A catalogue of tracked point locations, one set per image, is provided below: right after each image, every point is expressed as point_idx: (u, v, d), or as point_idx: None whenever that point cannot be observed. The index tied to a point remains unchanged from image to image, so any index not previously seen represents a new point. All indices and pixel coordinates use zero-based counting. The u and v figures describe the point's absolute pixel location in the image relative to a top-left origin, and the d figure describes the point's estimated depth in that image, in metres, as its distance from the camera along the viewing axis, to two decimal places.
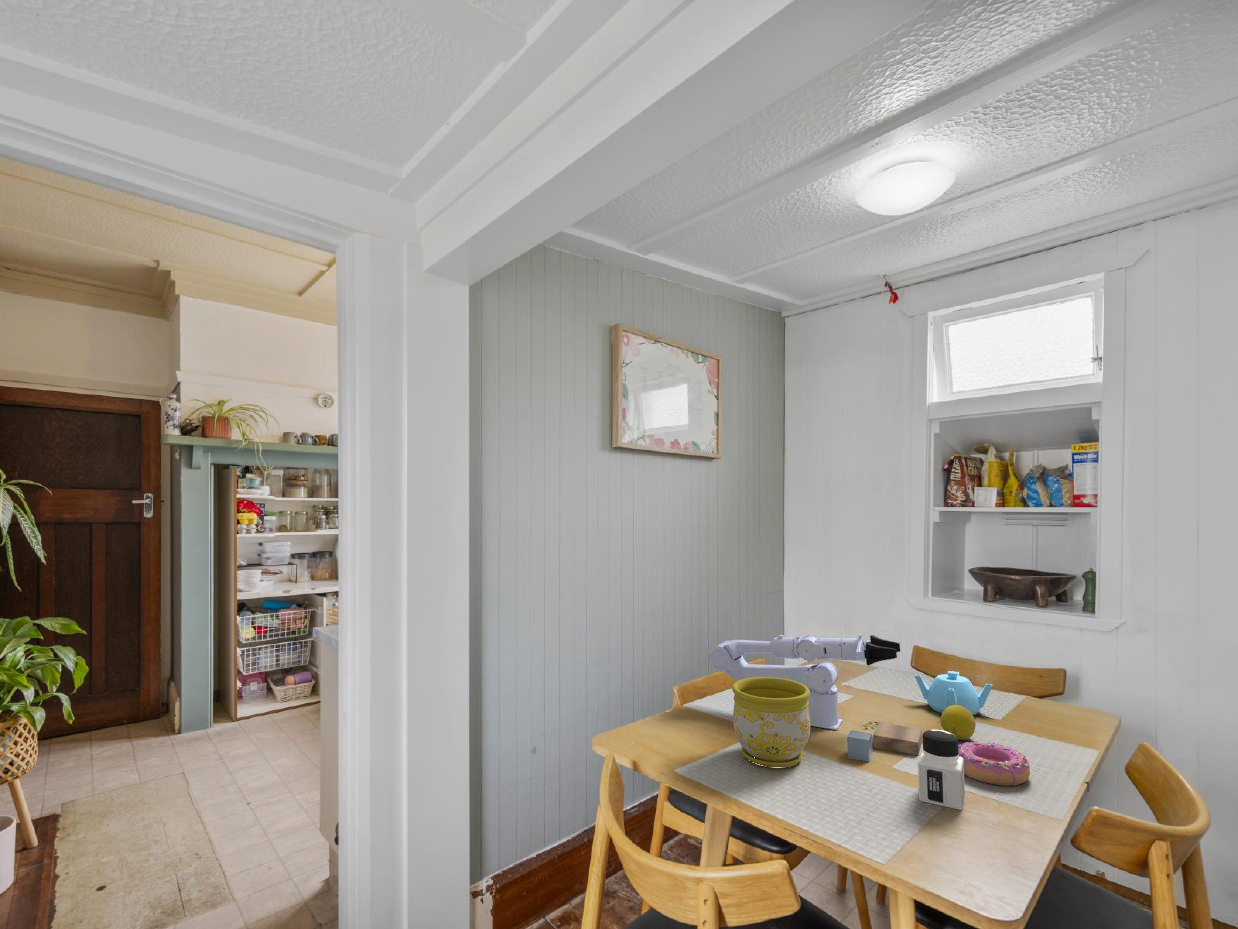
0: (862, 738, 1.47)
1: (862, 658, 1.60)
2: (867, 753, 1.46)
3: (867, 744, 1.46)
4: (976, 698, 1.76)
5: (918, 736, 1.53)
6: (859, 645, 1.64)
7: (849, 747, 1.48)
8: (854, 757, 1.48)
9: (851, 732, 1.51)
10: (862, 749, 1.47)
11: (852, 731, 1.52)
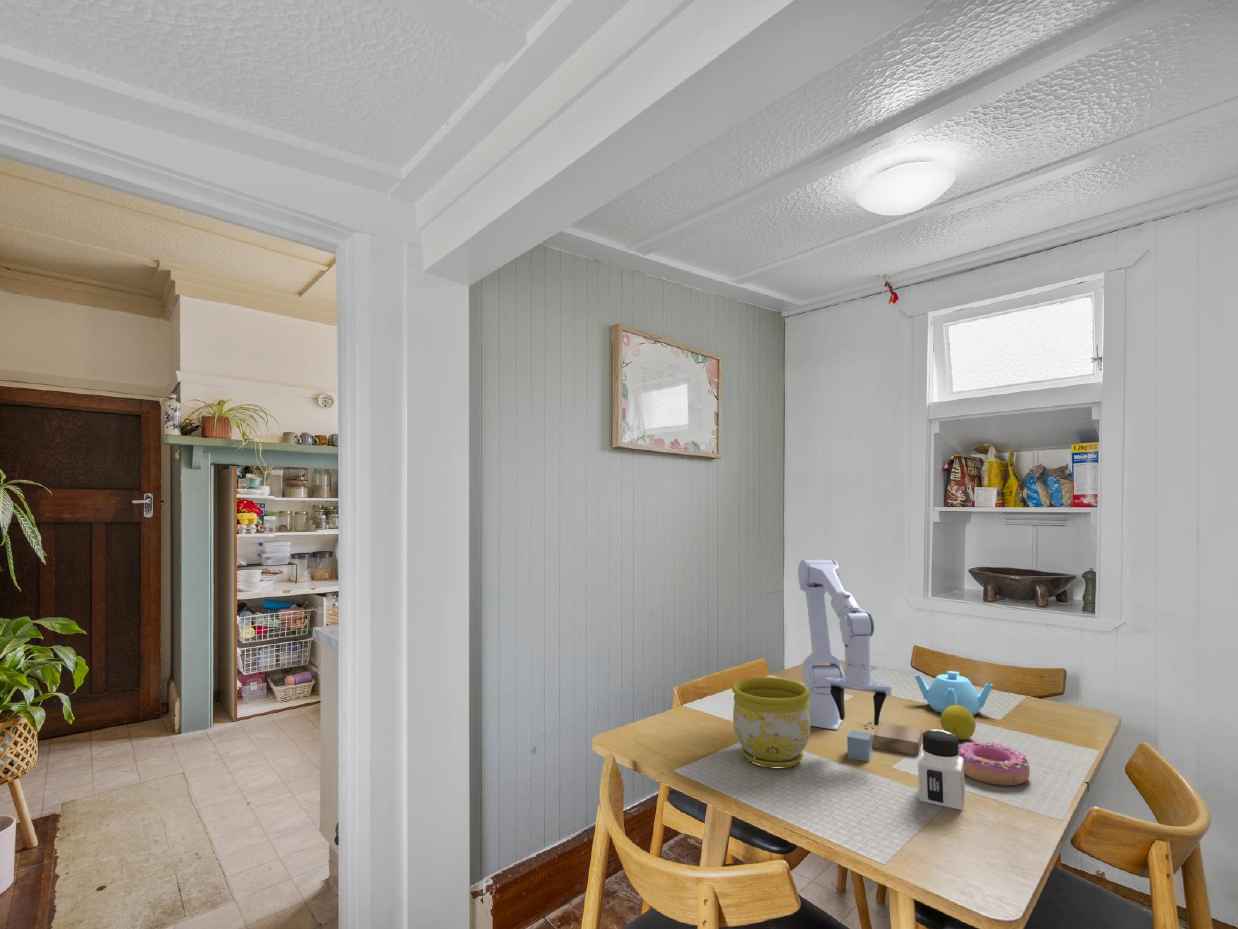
0: (862, 738, 1.47)
1: None
2: (867, 753, 1.46)
3: (867, 744, 1.46)
4: (976, 698, 1.76)
5: (918, 736, 1.53)
6: (840, 684, 1.50)
7: (849, 747, 1.48)
8: (854, 757, 1.48)
9: (851, 732, 1.51)
10: (862, 749, 1.47)
11: (852, 731, 1.52)
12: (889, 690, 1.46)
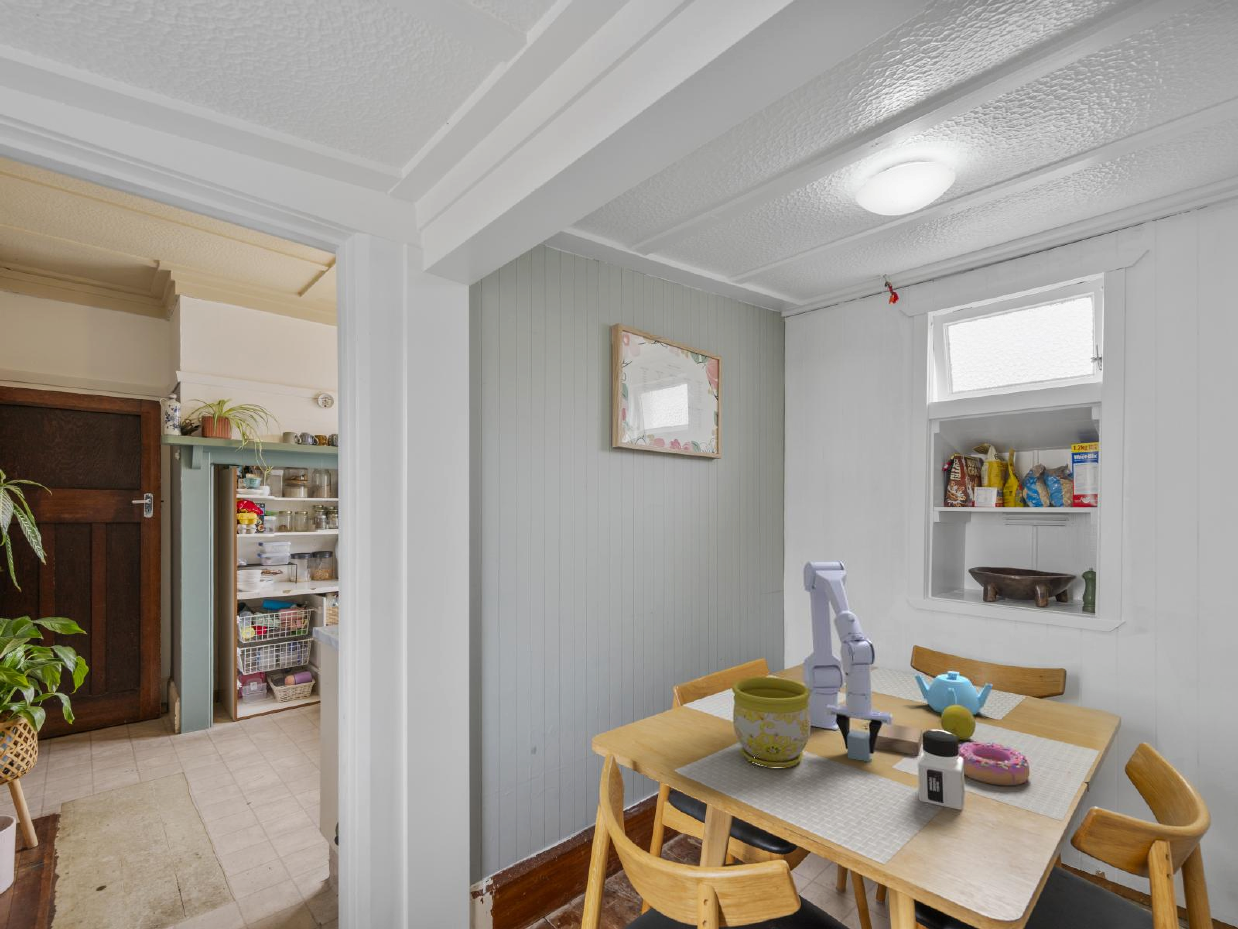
0: (862, 738, 1.47)
1: None
2: (867, 753, 1.46)
3: (867, 744, 1.46)
4: (976, 698, 1.76)
5: (918, 736, 1.53)
6: (840, 712, 1.50)
7: (849, 747, 1.48)
8: (854, 757, 1.48)
9: (851, 731, 1.51)
10: (862, 749, 1.47)
11: (852, 730, 1.52)
12: (890, 719, 1.45)
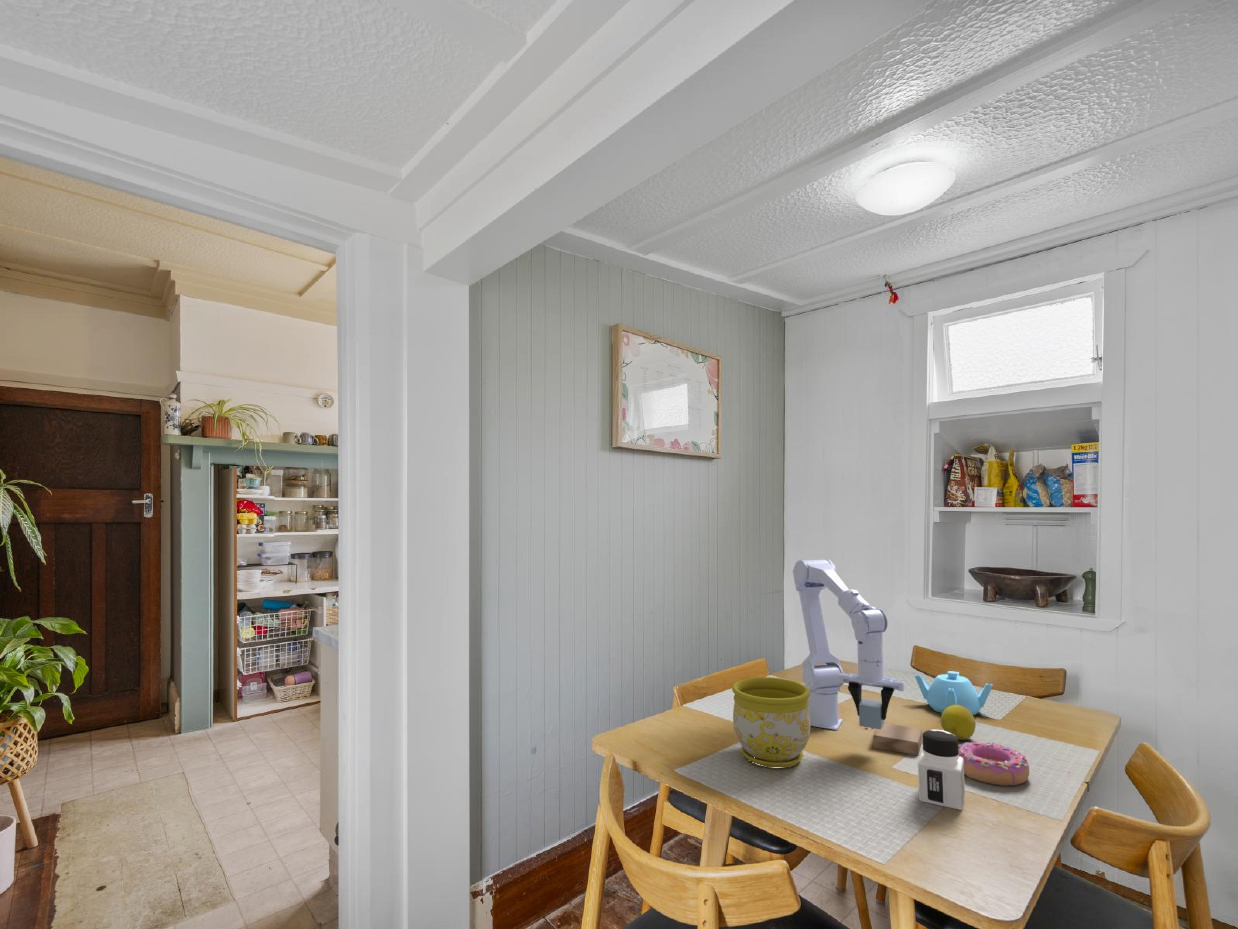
0: (873, 706, 1.49)
1: None
2: (878, 720, 1.49)
3: (878, 712, 1.49)
4: (976, 698, 1.76)
5: (918, 736, 1.53)
6: (852, 679, 1.53)
7: (861, 715, 1.51)
8: (866, 724, 1.50)
9: (863, 700, 1.54)
10: (873, 717, 1.49)
11: (864, 700, 1.54)
12: (901, 686, 1.48)
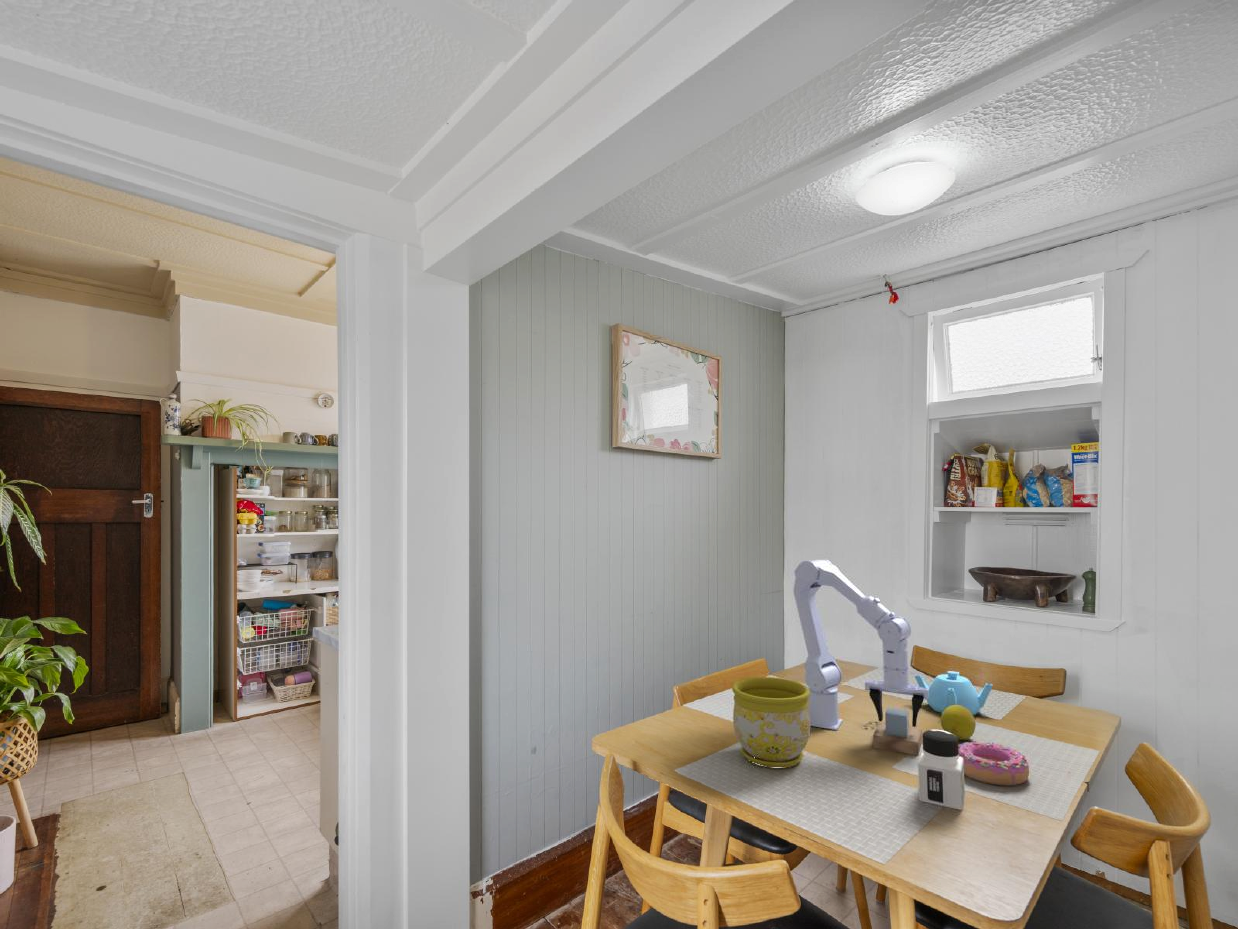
0: (899, 715, 1.54)
1: None
2: (905, 729, 1.53)
3: (905, 720, 1.53)
4: (976, 698, 1.76)
5: (918, 736, 1.53)
6: (878, 687, 1.57)
7: (887, 723, 1.55)
8: (892, 733, 1.54)
9: (888, 709, 1.58)
10: (900, 725, 1.53)
11: (889, 708, 1.59)
12: (927, 693, 1.52)
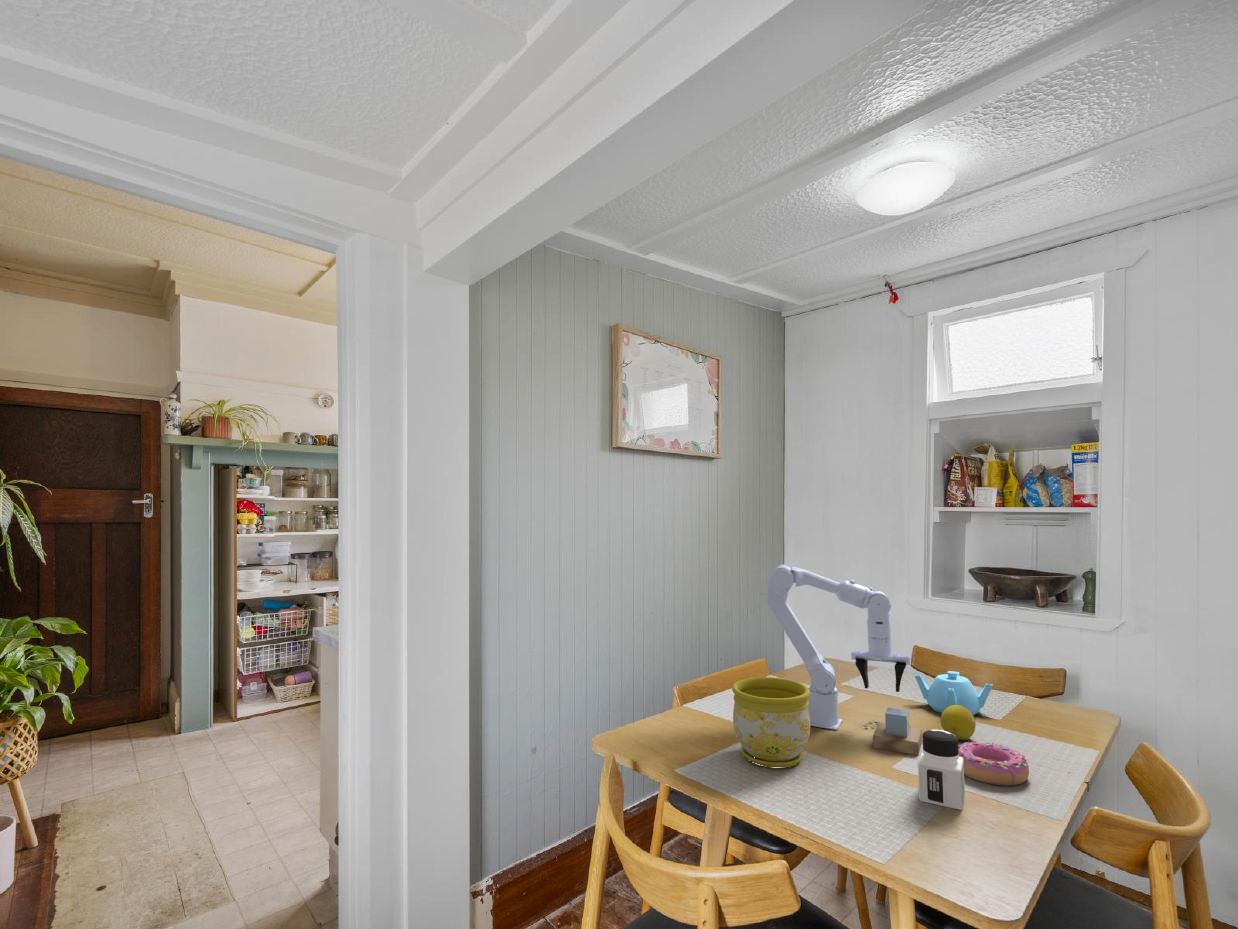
0: (899, 715, 1.54)
1: None
2: (905, 729, 1.53)
3: (905, 720, 1.53)
4: (976, 698, 1.76)
5: (918, 736, 1.53)
6: (864, 656, 1.68)
7: (887, 723, 1.55)
8: (892, 733, 1.54)
9: (888, 709, 1.58)
10: (900, 725, 1.53)
11: (889, 708, 1.59)
12: (908, 660, 1.63)
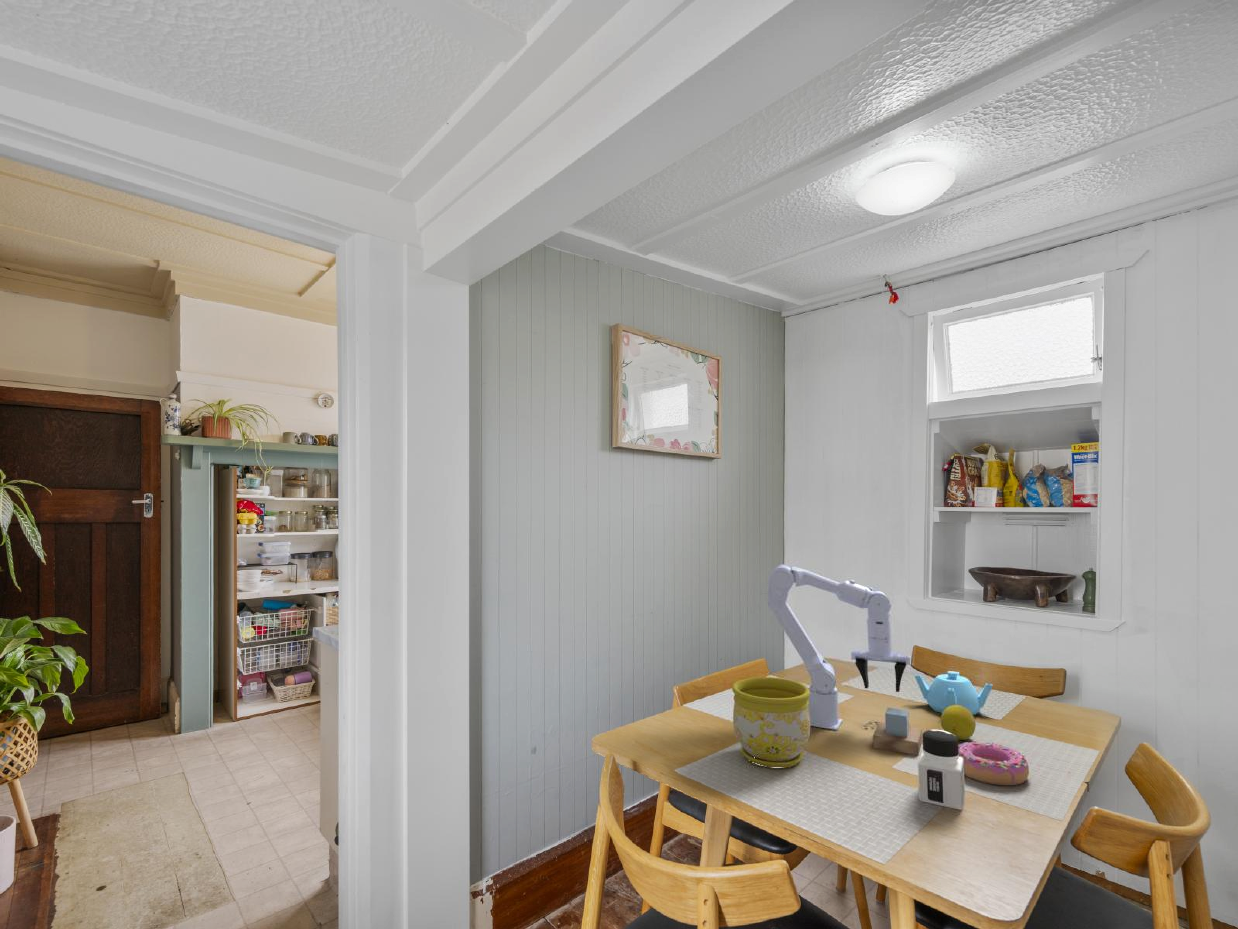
0: (899, 715, 1.54)
1: None
2: (905, 729, 1.53)
3: (905, 720, 1.53)
4: (976, 698, 1.76)
5: (918, 736, 1.53)
6: (864, 656, 1.68)
7: (887, 723, 1.55)
8: (892, 733, 1.54)
9: (888, 709, 1.58)
10: (900, 725, 1.53)
11: (889, 708, 1.59)
12: (908, 660, 1.63)
